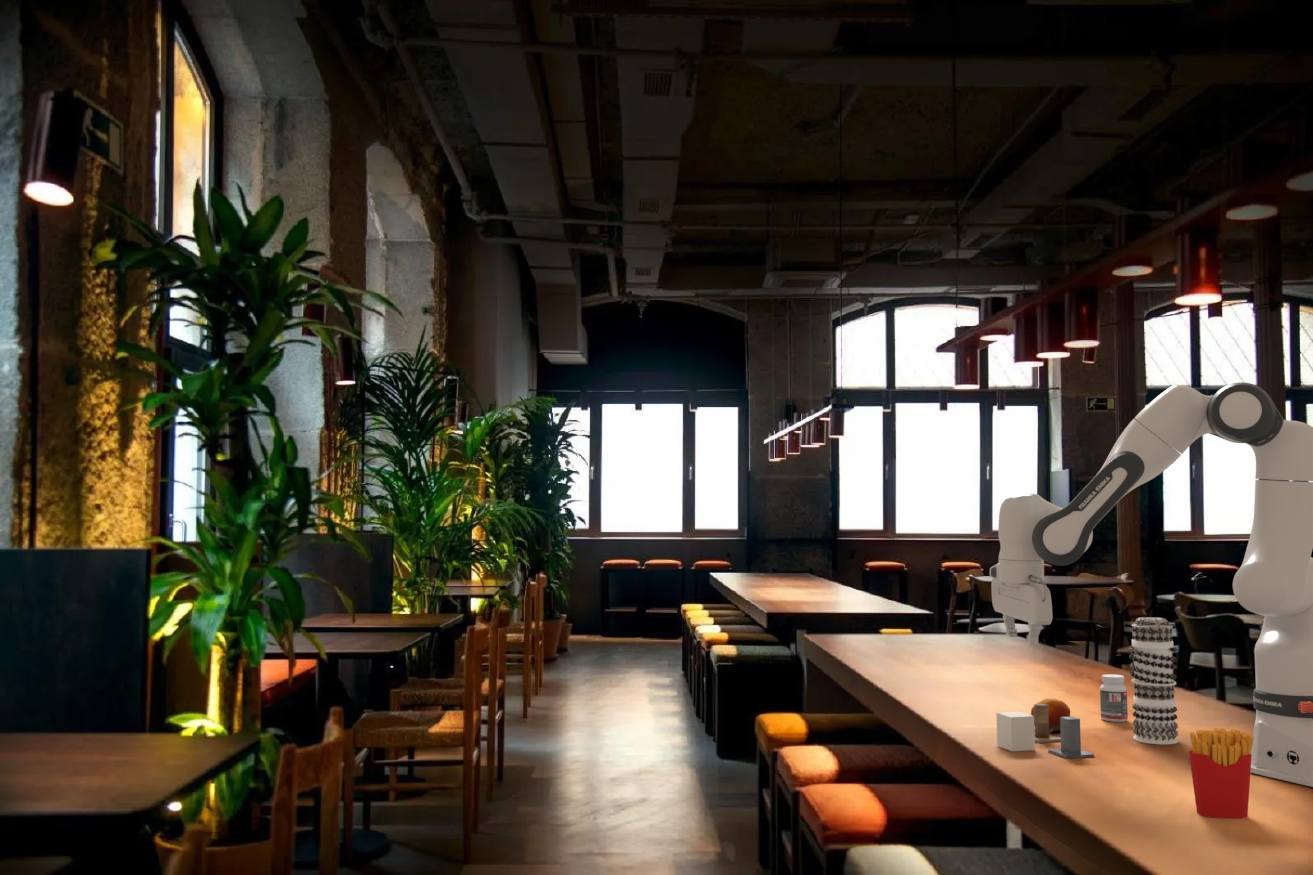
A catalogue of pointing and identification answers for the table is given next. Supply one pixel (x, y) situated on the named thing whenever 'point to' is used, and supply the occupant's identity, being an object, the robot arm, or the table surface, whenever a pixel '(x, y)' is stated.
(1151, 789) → the table surface
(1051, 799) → the table surface
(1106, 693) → the pill bottle
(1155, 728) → the black white cylinder
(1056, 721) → the fruit
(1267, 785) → the table surface
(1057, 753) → the grey square post stand
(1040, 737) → the knob on square plate
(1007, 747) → the white rectangular block
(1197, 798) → the french fries
